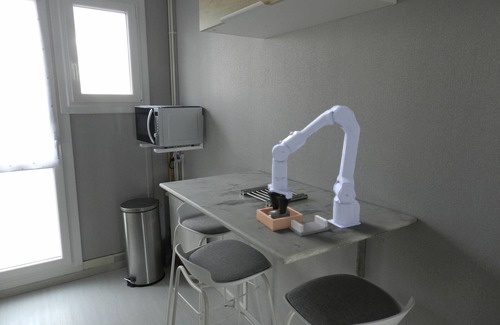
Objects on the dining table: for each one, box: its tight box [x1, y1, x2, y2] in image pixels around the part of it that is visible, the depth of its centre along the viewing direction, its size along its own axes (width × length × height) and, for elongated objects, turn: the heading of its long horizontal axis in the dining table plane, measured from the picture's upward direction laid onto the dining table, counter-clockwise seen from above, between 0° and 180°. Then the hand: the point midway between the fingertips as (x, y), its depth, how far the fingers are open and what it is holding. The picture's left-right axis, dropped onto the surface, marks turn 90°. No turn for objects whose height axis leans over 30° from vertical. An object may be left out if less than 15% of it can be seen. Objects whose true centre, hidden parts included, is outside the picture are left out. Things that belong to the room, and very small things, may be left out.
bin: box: [256, 206, 304, 232], centre depth 126 cm, size 13×13×4 cm
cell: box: [268, 209, 290, 219], centre depth 126 cm, size 8×4×4 cm, turn 116°
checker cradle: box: [289, 214, 330, 237], centre depth 119 cm, size 12×7×4 cm, turn 116°
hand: (279, 211), depth 126 cm, fingers open, 5 cm apart
